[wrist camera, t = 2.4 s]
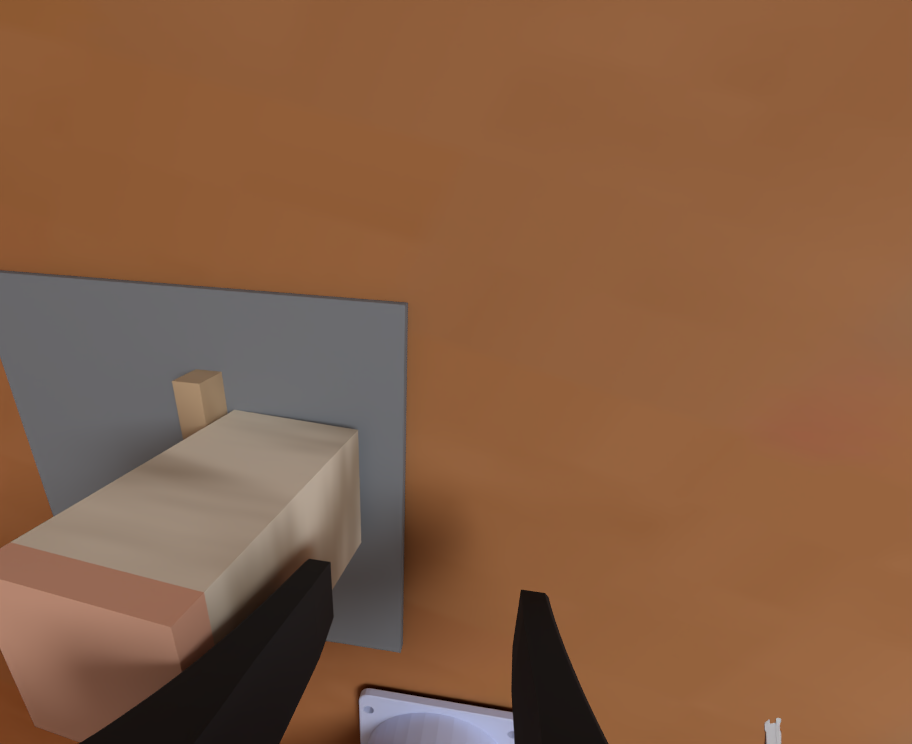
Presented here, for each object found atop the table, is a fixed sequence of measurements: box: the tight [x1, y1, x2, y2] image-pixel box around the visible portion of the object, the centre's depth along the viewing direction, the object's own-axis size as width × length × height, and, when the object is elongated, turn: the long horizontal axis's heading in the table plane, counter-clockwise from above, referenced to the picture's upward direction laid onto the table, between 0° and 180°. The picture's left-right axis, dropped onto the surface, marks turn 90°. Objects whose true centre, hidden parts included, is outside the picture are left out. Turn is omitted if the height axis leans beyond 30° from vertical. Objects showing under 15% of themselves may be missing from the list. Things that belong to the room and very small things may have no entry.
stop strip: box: [172, 369, 228, 440], centre depth 17 cm, size 8×1×1 cm, turn 177°
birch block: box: [0, 410, 361, 742], centre depth 13 cm, size 5×5×8 cm
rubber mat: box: [0, 270, 408, 653], centre depth 18 cm, size 16×16×1 cm
